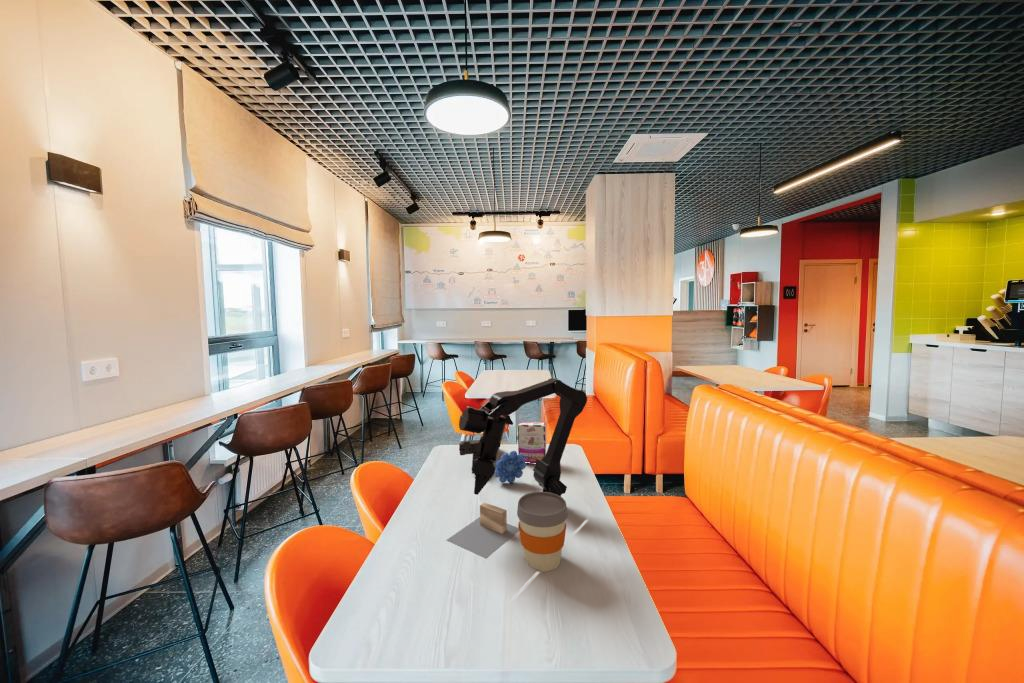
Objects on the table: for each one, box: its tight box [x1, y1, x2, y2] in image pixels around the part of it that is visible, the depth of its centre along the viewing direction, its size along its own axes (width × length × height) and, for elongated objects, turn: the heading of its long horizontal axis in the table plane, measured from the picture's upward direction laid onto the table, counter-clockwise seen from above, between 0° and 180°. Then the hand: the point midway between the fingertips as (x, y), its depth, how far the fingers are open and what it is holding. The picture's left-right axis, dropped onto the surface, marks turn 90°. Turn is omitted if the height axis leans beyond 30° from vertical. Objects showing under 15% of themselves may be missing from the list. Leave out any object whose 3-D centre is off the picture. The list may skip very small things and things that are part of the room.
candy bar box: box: [517, 421, 547, 463], centre depth 161 cm, size 11×5×16 cm, turn 80°
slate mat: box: [446, 516, 519, 559], centre depth 110 cm, size 16×14×1 cm
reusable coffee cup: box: [516, 491, 568, 572], centre depth 99 cm, size 13×13×15 cm
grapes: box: [494, 450, 527, 484], centre depth 143 cm, size 12×7×12 cm, turn 96°
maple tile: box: [479, 502, 508, 534], centre depth 113 cm, size 2×8×6 cm, turn 55°
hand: (477, 488), depth 113 cm, fingers open, 9 cm apart
